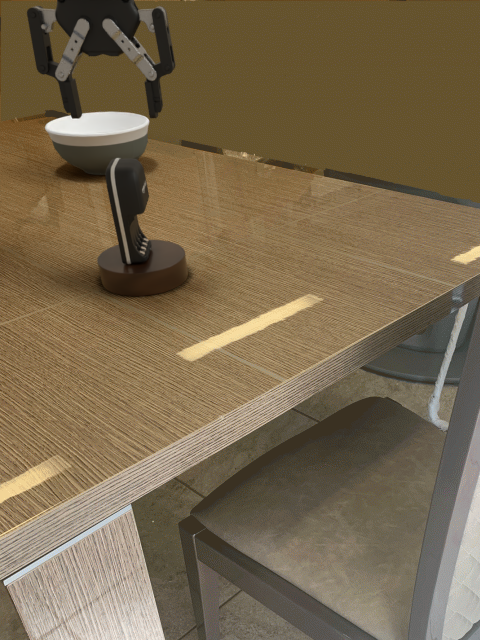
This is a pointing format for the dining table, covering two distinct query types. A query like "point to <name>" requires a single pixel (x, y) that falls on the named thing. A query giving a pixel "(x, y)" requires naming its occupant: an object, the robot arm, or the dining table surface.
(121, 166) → the battery charger
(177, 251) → the brown round disc
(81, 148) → the bowl
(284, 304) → the dining table surface
